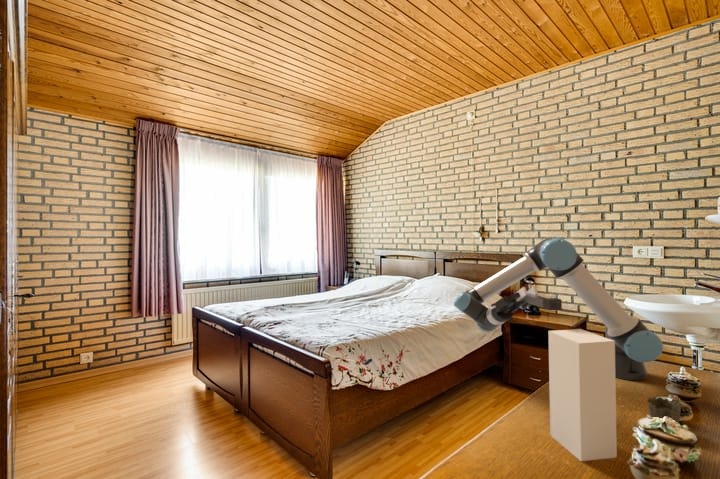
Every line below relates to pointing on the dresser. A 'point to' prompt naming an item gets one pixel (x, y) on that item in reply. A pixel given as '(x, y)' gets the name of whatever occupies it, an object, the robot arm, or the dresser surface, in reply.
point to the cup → (664, 408)
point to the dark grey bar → (543, 302)
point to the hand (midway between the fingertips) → (530, 290)
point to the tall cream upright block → (583, 393)
